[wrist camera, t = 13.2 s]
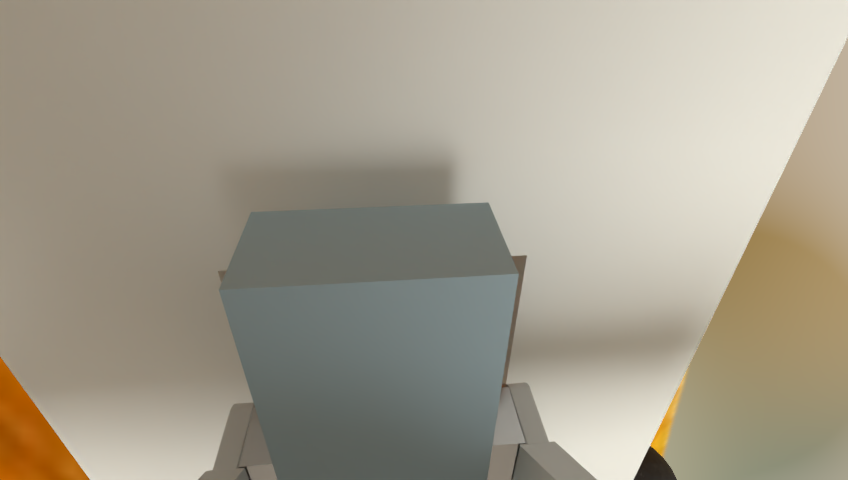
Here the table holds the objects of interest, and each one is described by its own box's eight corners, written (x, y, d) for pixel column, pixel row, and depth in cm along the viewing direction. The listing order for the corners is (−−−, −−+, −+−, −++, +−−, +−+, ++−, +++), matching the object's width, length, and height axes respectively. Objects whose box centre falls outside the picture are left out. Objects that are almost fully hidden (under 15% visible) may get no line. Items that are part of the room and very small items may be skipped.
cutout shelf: (111, -50, 17) (-267, -10, 7) (598, -48, 18) (870, -11, 8) (226, 319, 27) (142, 552, 17) (533, 301, 28) (621, 505, 18)
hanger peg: (305, 79, 14) (218, 290, 6) (435, 77, 15) (518, 273, 6) (341, 351, 21) (322, 626, 13) (429, 345, 21) (467, 610, 13)
